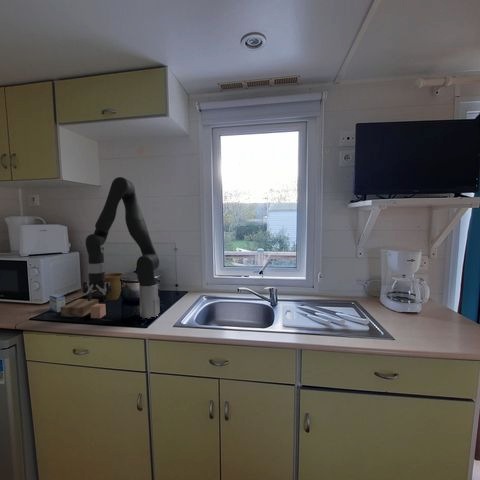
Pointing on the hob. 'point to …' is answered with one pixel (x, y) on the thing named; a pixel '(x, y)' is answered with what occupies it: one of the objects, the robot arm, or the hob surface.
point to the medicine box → (56, 302)
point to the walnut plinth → (78, 308)
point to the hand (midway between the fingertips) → (97, 301)
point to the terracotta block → (98, 310)
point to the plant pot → (114, 285)
